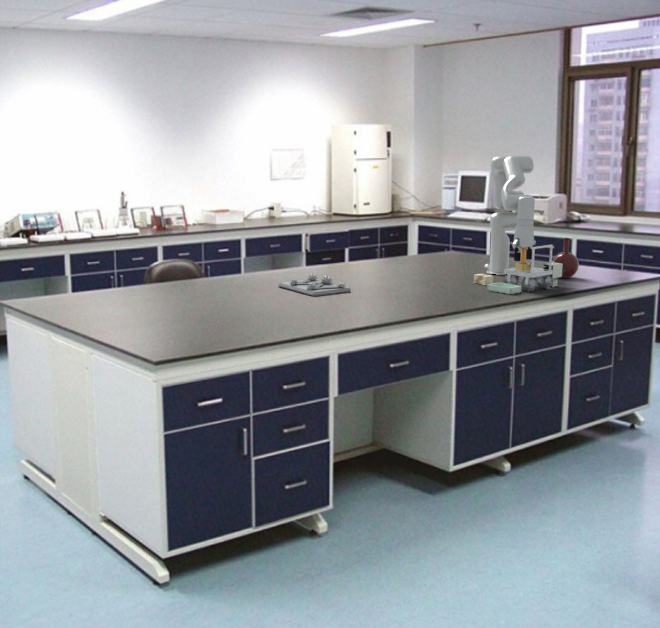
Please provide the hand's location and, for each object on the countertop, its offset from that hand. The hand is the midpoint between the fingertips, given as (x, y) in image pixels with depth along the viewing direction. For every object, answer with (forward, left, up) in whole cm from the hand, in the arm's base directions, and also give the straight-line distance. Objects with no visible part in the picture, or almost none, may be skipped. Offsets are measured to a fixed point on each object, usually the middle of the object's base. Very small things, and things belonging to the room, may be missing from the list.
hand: (523, 260), depth 412 cm
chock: (-18, -6, -13) cm, 23 cm away
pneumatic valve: (+7, +14, -13) cm, 21 cm away
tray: (+1, -15, -13) cm, 20 cm away
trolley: (+3, 0, -13) cm, 14 cm away
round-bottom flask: (-3, +40, -13) cm, 42 cm away
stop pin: (0, 0, -4) cm, 4 cm away
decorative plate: (-59, -78, -14) cm, 99 cm away
